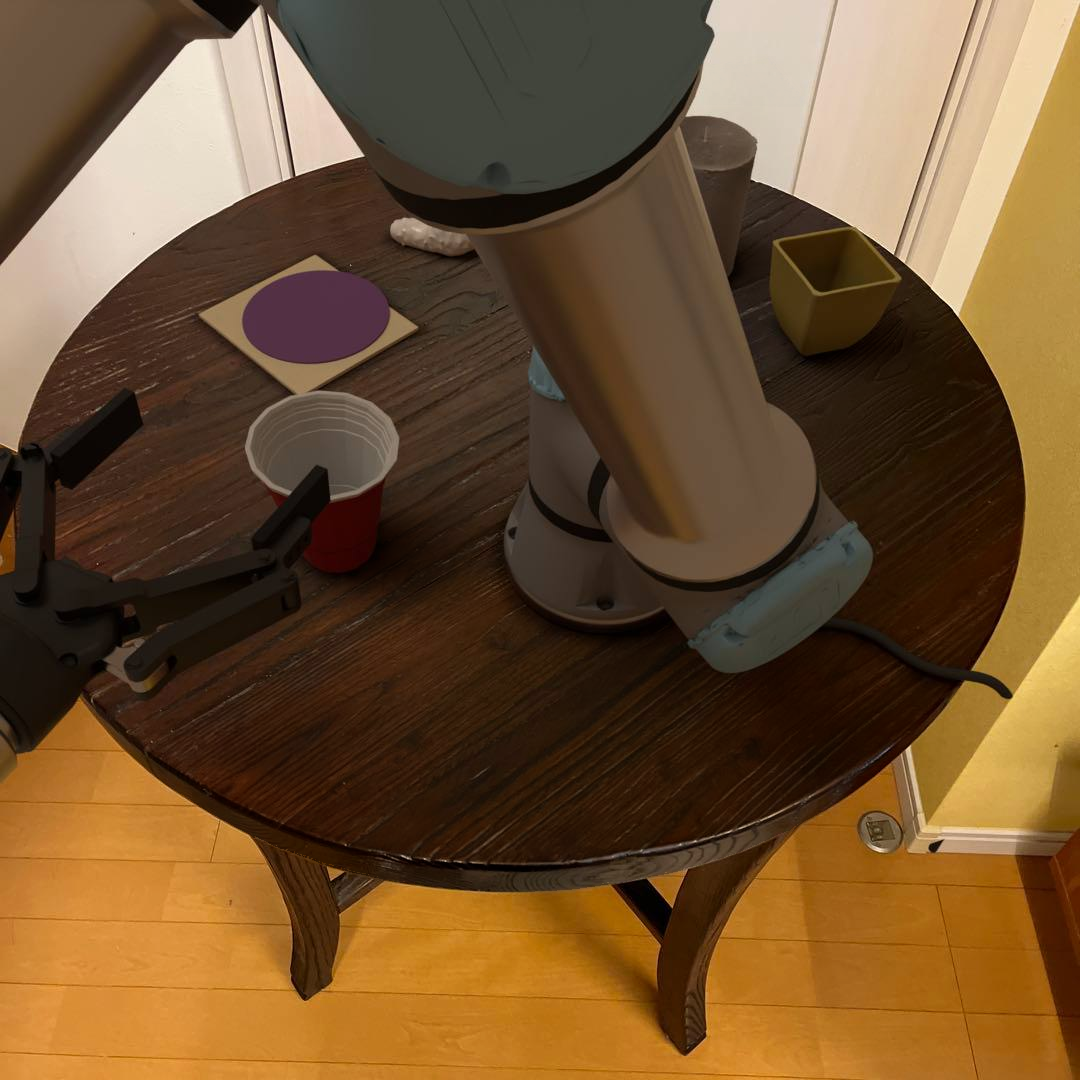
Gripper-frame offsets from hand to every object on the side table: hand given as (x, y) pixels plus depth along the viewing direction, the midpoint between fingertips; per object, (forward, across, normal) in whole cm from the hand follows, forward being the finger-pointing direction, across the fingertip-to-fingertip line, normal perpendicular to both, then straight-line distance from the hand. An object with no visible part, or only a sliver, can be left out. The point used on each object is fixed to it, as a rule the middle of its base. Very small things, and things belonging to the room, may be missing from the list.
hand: (227, 443), depth 64 cm
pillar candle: (+58, +13, -17) cm, 61 cm away
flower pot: (+52, +28, -16) cm, 61 cm away
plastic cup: (+10, +1, -20) cm, 22 cm away
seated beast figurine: (+50, -11, -18) cm, 55 cm away
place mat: (+32, -17, -19) cm, 41 cm away
